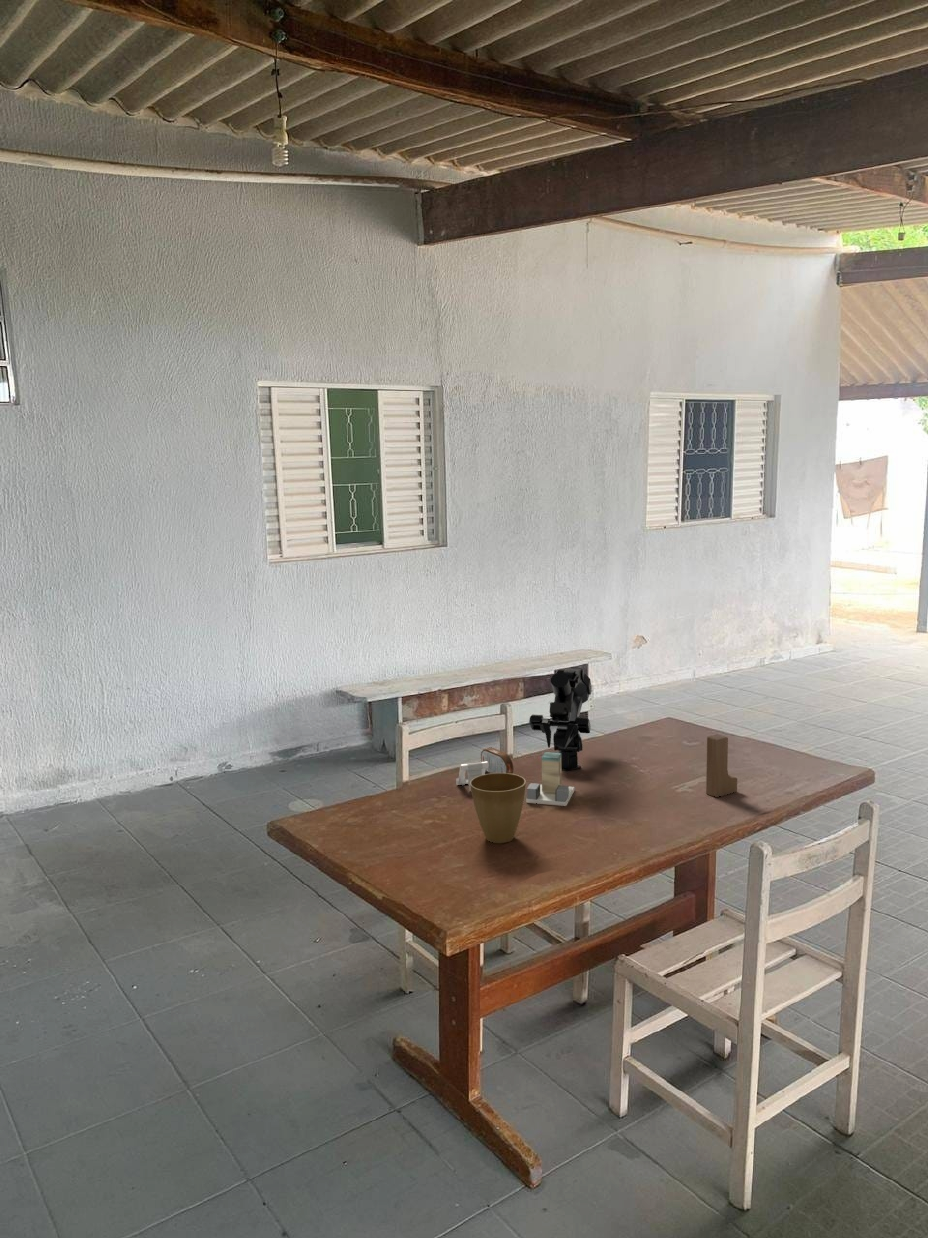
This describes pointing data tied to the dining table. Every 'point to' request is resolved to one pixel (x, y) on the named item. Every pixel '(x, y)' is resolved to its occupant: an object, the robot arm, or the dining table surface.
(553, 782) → the peg
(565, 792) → the block holder base
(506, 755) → the tin
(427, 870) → the dining table surface
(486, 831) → the plant pot
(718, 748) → the wooden block
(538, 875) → the dining table surface
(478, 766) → the portable electronic device stand
